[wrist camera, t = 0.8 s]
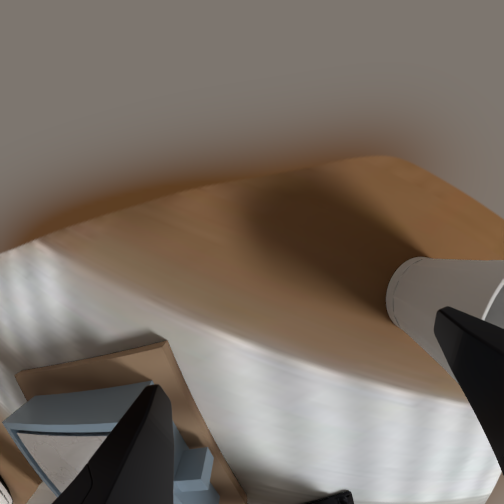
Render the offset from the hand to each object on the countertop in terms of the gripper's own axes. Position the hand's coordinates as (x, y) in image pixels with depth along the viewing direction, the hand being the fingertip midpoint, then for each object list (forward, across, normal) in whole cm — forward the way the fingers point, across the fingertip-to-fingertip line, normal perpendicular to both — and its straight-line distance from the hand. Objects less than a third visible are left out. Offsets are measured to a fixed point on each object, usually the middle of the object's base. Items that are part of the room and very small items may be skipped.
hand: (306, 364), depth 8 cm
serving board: (+8, +18, +17) cm, 26 cm away
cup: (+11, -11, +9) cm, 18 cm away
